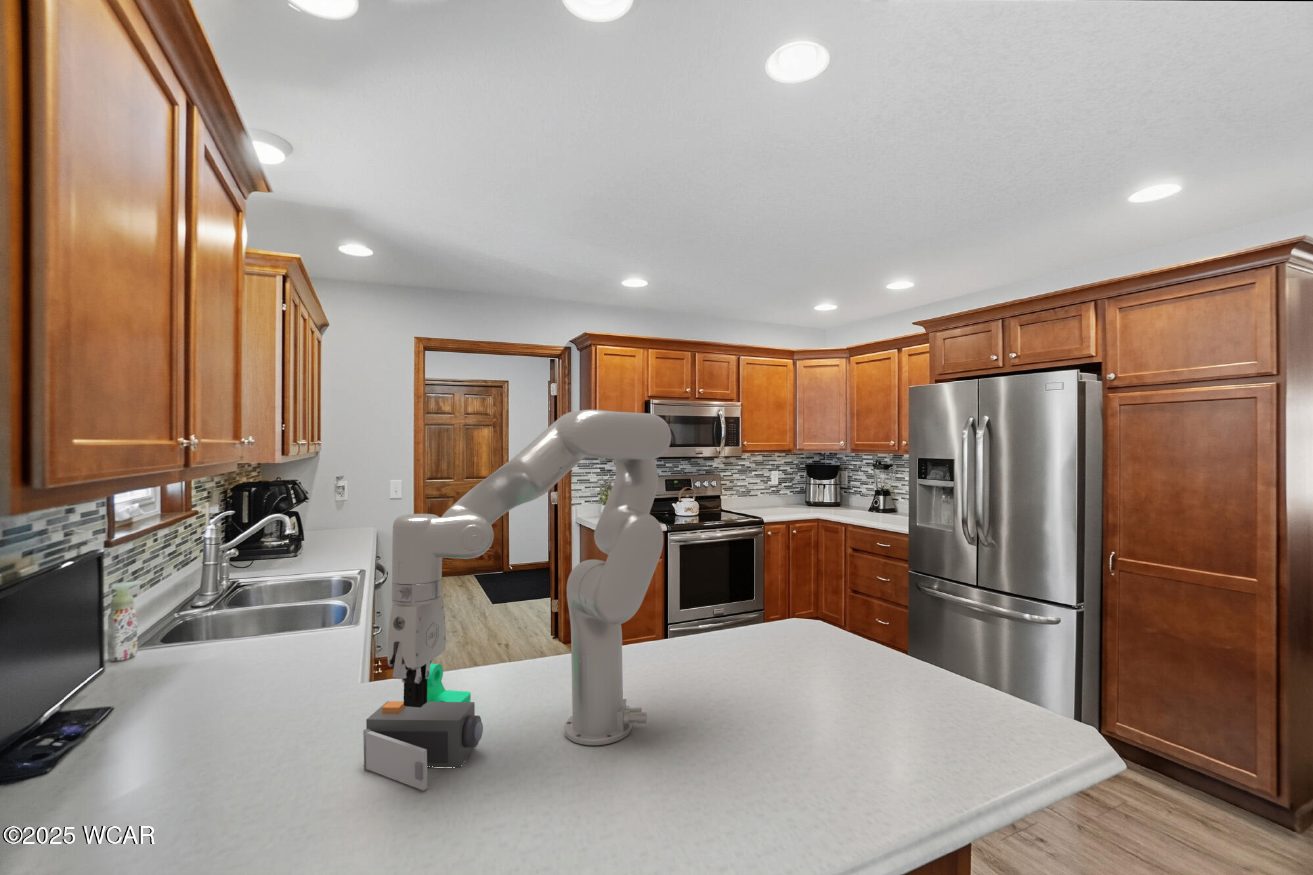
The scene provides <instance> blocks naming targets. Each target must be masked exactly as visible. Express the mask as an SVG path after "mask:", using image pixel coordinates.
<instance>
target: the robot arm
mask: <svg viewBox="0 0 1313 875" xmlns="http://www.w3.org/2000/svg"><path fill="white" fill-rule="evenodd" d="M671 441H672V432H671V429H670V427H669V424H668V423H667V422H666V421H665V419H664V418H662V417H661V416H659V415H657V414H654V413H649V412H648V413H646V412H644V413H643V412H629V411H628V412H627V411H613V410H602V409H583V410H582V409H581V410H574V411H570V412H567V413H564V414H562V415H561V416H560V417H559V418H557V419H556V420H555V421H554V422H553V423H552V424H550V426H548V427H547V428H545V429H544V431H542V432H541V433H540V434H539V435H538V436H537V437H535V438H534V439H533V440H532V441H531V442H530V443H529V444H528V445H527V446H526V447H524V448H523V449H522V450H521V451H520V452H518V454H516V455H515V456H514V457H513V458H511V459H510V460H509V461H507V462H505V464H503V465H502V466H500V467H499V468H498V469H497V470H495V471H494V472H492V473H491V474H490V475H488V476H487V477H486V478H484V479H483V480H482V481H479V483H477V484H476V485H475V486H473V487H472V488H471V489H470V490H468V492H466V493H465V494H464V495H463V496H462V497H461V498H459V499H458V500H457V501H456V502H455V503H454V504H453V505H451V506H450V507H449V508H448V509H447V510H446V511H445V512H444V513H443V514H442V516H439V515H437V514H432V513H410V514H404V515H400V516H398V517H396V518H395V519H394V521H393V525H392V544H391V545H392V552H391V553H392V554H391V558H392V560H391V565H392V566H391V567H392V568H391V575H392V576H391V604H392V605H391V610H390V615H389V622H388V623H389V625H388V631H387V632H388V634H387V648H386V650H387V664H388V666H389V668H391V669H392V668H393V672H392V678H393V679H395V680H396V679H397V680H401V682H402V683H403V701H404V706H407V707H419V708H420V707H422V706H423V705H424V704H426V703H427V679H425V678H428V677H429V673H430V664H432V663H433V660H435V659H436V658H437V657H439V656H440V655H442V654H443V653H444V651H445V650H446V648H447V636H446V635H447V634H446V633H447V632H446V630H447V629H446V628H447V626H446V614H445V604H444V599H443V595H442V586H443V585H442V584H443V583H442V579H443V578H442V577H443V573H442V572H443V569H442V568H443V559H444V558H445V559H447V558H448V559H459V560H461V559H462V560H463V559H464V560H468V559H469V560H470V559H475V558H478V557H480V556H482V555H484V554H485V553H486V552H487V551H488V550H489V549H490V548H491V546H492V544H493V542H494V539H495V538H494V537H495V536H494V533H495V532H494V529H493V526H492V525H493V524H494V523H495V522H496V521H497V520H499V519H500V518H501V517H502V516H504V515H505V514H506V513H509V511H511V510H513V509H514V508H516V507H518V506H520V505H523V504H525V503H526V504H527V503H529V502H532V501H535V500H536V499H538V498H540V497H543V496H544V495H545V494H546V493H548V492H549V491H550V490H551V489H552V488H553V487H554V486H555V485H556V484H557V483H558V482H560V480H562V479H563V478H564V477H565V476H566V475H567V474H568V473H569V472H570V471H571V470H572V469H573V468H575V466H577V465H578V464H579V463H580V462H581V461H582V460H583V459H584V458H591V459H592V458H593V459H595V458H596V459H608V460H610V459H612V460H614V465H615V478H614V480H613V485H612V487H611V490H610V493H609V495H608V497H607V499H606V502H605V504H604V508H603V509H602V512H601V514H600V516H599V518H598V521H597V523H596V526H595V529H594V533H593V539H594V543H595V545H596V546H597V549H599V551H601V552H602V553H604V554H605V555H607V557H606V561H605V560H601V559H596V558H594V559H586V560H584V561H582V562H580V563H578V564H576V566H574V567H573V569H571V572H570V573H569V575H568V578H567V583H566V598H567V599H566V601H567V606H568V614H569V621H570V623H569V624H570V637H571V638H570V640H571V641H570V643H571V645H570V646H571V648H570V649H571V650H570V651H571V655H570V656H571V660H570V661H571V703H572V705H571V707H572V708H571V709H572V710H571V711H572V715H571V716H570V717H569V718H568V719H567V720H566V721H565V723H564V727H563V728H564V729H563V731H564V735H565V737H566V738H567V739H569V741H572V742H573V743H577V744H580V745H585V746H602V745H603V746H604V745H608V744H613V743H615V742H619V741H621V740H622V739H624V738H625V737H627V736H628V735H629V734H630V733H631V731H632V727H633V726H632V725H633V724H647V722H648V720H647V719H648V713H647V711H642V707H630V706H627V699H626V698H624V686H623V684H624V682H623V676H624V674H623V632H622V629H623V628H622V624H624V623H626V622H628V621H629V620H631V619H632V618H633V617H634V615H636V613H637V612H638V611H639V609H640V608H641V605H642V603H643V601H644V599H645V597H646V594H647V592H648V589H649V586H650V584H651V582H652V579H653V575H655V574H654V573H655V572H656V568H657V566H658V563H659V561H660V558H661V555H662V553H663V547H664V533H663V532H664V531H663V529H662V526H661V524H660V522H659V520H658V519H656V517H655V516H653V515H651V514H650V513H651V509H652V507H653V504H654V500H655V497H656V495H657V492H658V487H659V474H658V468H657V464H656V459H659V458H660V457H662V456H663V455H664V454H665V453H666V452H667V451H668V449H669V448H670V445H671Z"/></svg>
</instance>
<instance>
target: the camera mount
mask: <svg viewBox="0 0 1313 875" xmlns="http://www.w3.org/2000/svg"><path fill="white" fill-rule="evenodd" d="M443 676H444V669H443V666H442V664H441V663H431V664H430V673H429V677H428V678H425V679H427V702H472V701H471V695H472V694H471V692H470V691H463V690H449V689H448V690H446V689H445V686H444V684H443V682H442V680H443Z"/></svg>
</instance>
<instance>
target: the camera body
mask: <svg viewBox="0 0 1313 875" xmlns="http://www.w3.org/2000/svg"><path fill="white" fill-rule="evenodd" d="M475 705H476V704H475V702H474V701H470V702H427V703H426V704H424V705H423V706H422V707H420V708H419V707H407V706H404V700H403V701H395V700H393V701H392V700H391V701H386V702H385V703H383V705H381V706H380V707H379V708H377V710H376V711H375V712H374V713H372V714H370V716H368V717H367V718H366V720H365V721H366V723H365V724H366V725H365V726H366V728H365V729H370V731H373V732H376V733H379V734H382V735H385V736H388V737H391V738H394V739H397V740H400V741H403V742H406V743H409V744H412V745H415V746H418V747H421V748H424V749H427V766H428V767H429V766H430V767H432V766H433V767H452V768H451V769H455V768H460V767H461V768H462V766H463V765H464V764H465V762H466V761H465V760H467V759H468V758H469V757H468V756H470V755H471V754H472V753H473V751H474V749H475V748H476V747H478V744H479V742H480V741H481V739H482V737H483V732H484V725H483V724H484V723H483V722H482V718H481V716H480V715H475V713H476V712H475V711H476V710H475ZM467 757H468V758H467ZM464 761H465V762H464ZM463 763H464V764H463ZM461 765H462V766H461ZM453 767H455V768H453ZM461 768H460V769H461Z"/></svg>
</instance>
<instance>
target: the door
mask: <svg viewBox="0 0 1313 875" xmlns="http://www.w3.org/2000/svg"><path fill="white" fill-rule="evenodd" d="M362 734H363V770H364V771H371V772H374V773H377V774H379V775H381V776H383V777H387V778H389V779H392V780H395V781H398V782H400V783H402V784H405V785H407V786H410V787H413V788H416V789H418V790H421V791H425V790H427V789H428V768H427V749H424V748H421V747H418V746H415V745H412V744H409V743H406V742H403V741H400V740H397V739H394V738H391V737H388V736H385V735H382V734H379V733H376V732H373V731H370V729H366V728H364V729H363V733H362Z"/></svg>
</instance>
